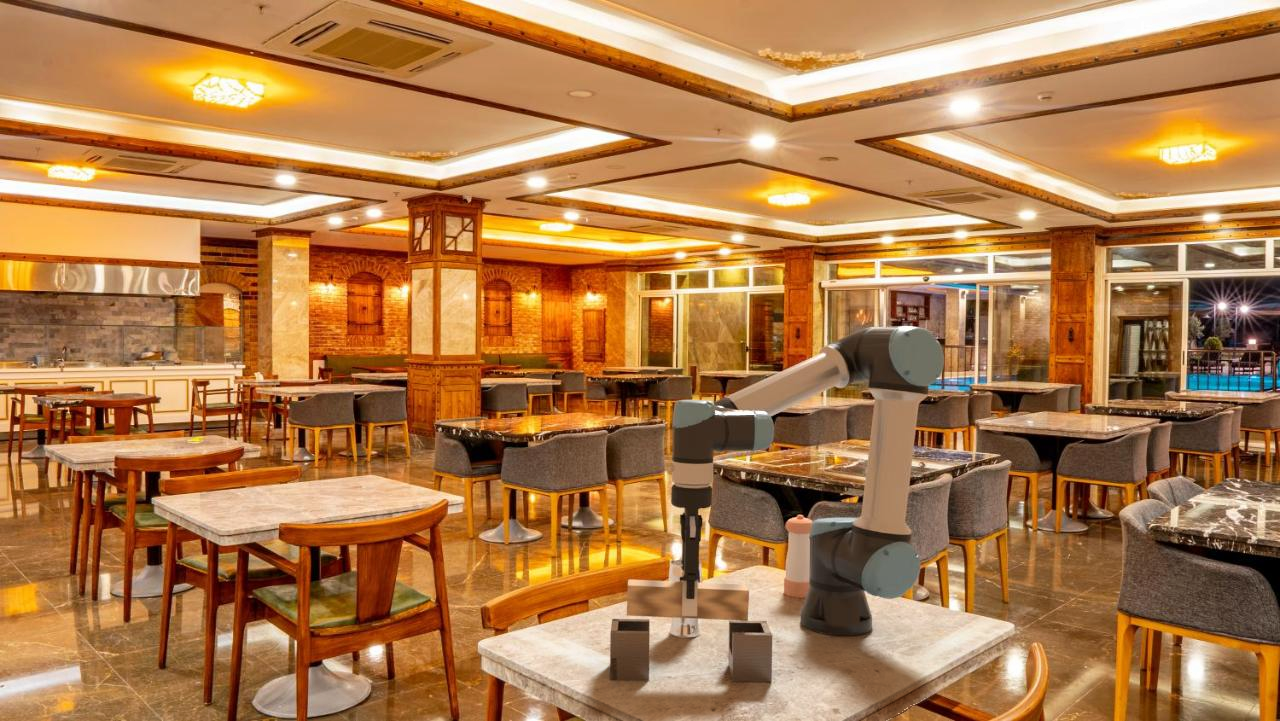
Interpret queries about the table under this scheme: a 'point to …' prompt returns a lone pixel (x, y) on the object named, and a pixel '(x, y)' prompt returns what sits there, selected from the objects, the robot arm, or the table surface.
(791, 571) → the pepper shaker
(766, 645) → the brackets
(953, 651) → the table surface
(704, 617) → the rail
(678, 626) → the shiny metal tumbler
